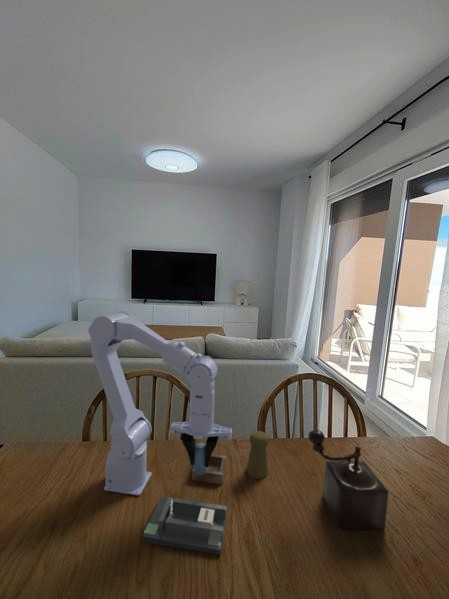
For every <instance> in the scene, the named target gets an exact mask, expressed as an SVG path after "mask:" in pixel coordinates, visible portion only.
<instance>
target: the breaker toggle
mask: <svg viewBox="0 0 449 599" xmlns="http://www.w3.org/2000/svg"><path fill="white" fill-rule="evenodd" d="M214 511H215V510H212V509H206V508H201V510H200V514H199V518H198V523H202V524H208V525H213V521H214Z"/></svg>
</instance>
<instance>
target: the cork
mask: <svg viewBox="0 0 449 599" xmlns="http://www.w3.org/2000/svg"><path fill="white" fill-rule="evenodd" d="M269 440H270V439H269V436H268V434H267V433H265V432H264V431H262V430H261V431H260V430H257V431H254V432H252V433H251V434H250V436H249V443H250V445H251V446H250V450H249V455H248V461H247V464H246V473H247V474H248V475H249V476H250V477H251V478H253V479H259V480H261V479H264V478H266V477H267V476H269V466H268V453H267V451H268V450H267V447H268V445H269V443H270V442H269Z"/></svg>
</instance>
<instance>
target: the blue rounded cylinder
mask: <svg viewBox="0 0 449 599" xmlns="http://www.w3.org/2000/svg"><path fill="white" fill-rule="evenodd" d="M205 462H206V443H203V442H197V443H196V444H195V446H194V465H193V468H194V472H195V473H196V474H204V473H205V472H206V467H205Z"/></svg>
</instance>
